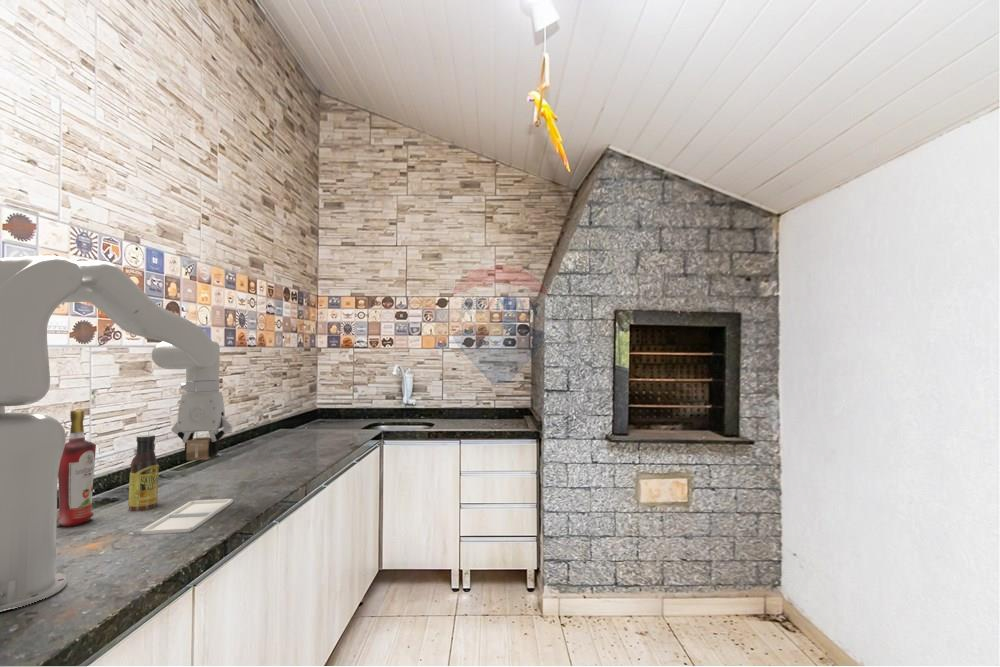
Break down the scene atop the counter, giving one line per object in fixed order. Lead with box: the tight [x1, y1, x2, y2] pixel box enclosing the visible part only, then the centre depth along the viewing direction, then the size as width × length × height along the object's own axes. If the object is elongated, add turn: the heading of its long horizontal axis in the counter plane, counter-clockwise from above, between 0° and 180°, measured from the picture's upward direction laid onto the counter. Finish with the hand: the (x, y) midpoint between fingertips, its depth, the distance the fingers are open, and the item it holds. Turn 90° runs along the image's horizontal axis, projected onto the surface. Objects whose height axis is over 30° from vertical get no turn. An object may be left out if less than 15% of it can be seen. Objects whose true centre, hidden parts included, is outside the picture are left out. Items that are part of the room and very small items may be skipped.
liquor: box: [57, 409, 97, 527], centre depth 118 cm, size 7×7×28 cm
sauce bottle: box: [127, 434, 160, 512], centre depth 127 cm, size 7×6×20 cm
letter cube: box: [185, 436, 213, 461], centre depth 124 cm, size 5×5×5 cm
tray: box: [138, 498, 234, 536], centre depth 119 cm, size 22×11×2 cm, turn 7°
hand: (201, 455), depth 124 cm, fingers closed on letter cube, 4 cm apart
